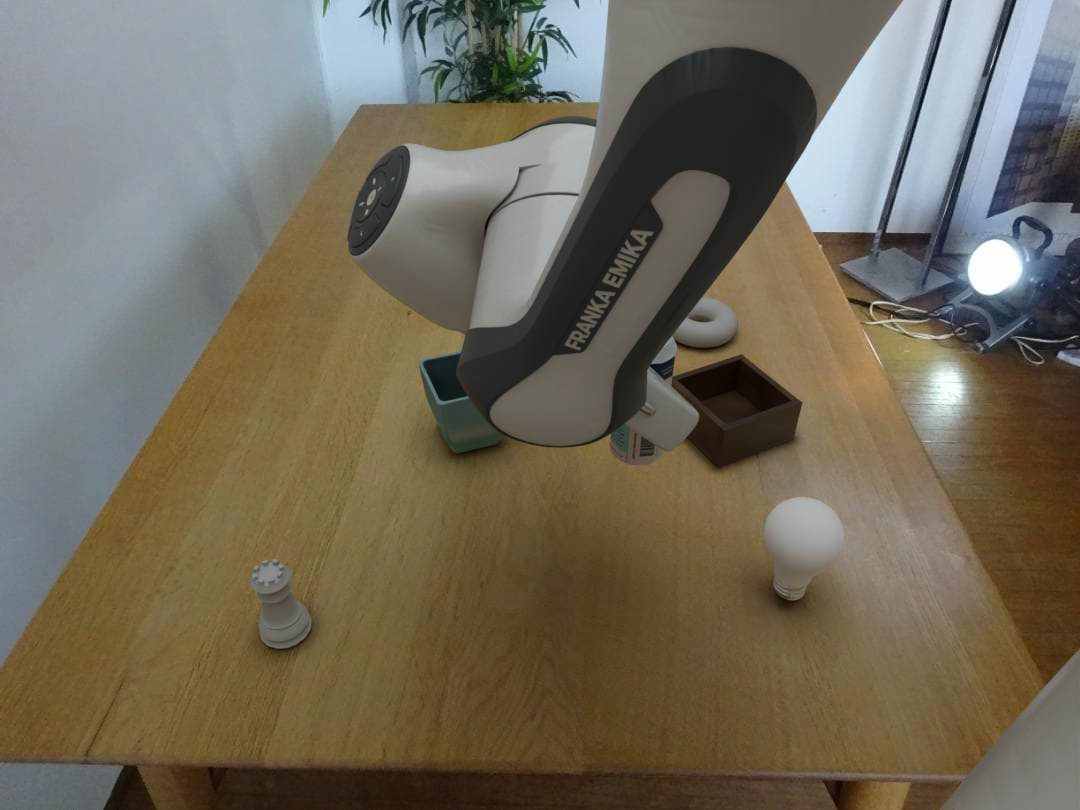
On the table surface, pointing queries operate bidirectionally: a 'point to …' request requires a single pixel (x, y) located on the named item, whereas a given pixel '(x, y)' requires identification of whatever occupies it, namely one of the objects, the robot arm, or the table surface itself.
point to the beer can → (626, 440)
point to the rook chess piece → (279, 606)
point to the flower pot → (454, 405)
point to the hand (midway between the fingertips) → (648, 388)
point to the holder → (737, 409)
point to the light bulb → (801, 543)
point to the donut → (707, 325)
